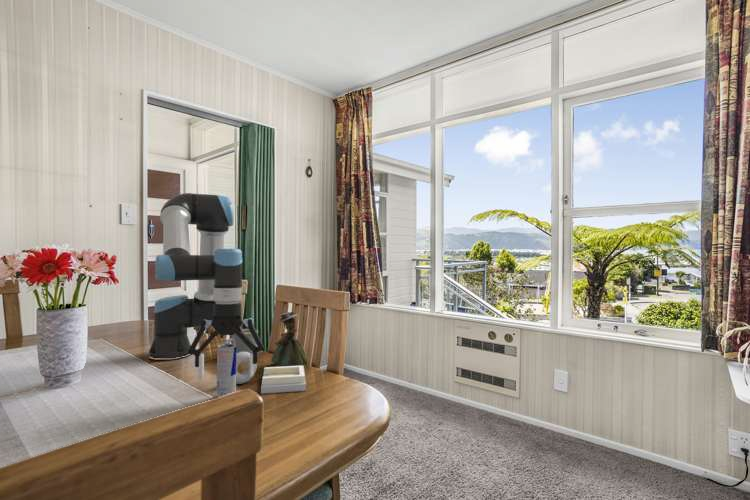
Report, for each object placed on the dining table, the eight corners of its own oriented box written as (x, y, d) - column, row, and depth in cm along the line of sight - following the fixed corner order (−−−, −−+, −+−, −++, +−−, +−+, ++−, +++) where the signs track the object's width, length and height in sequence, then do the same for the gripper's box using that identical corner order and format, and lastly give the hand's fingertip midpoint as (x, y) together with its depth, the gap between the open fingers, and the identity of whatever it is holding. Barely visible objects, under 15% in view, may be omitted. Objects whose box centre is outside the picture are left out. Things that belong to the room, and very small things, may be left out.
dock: (264, 376, 129) (264, 364, 129) (303, 374, 132) (303, 362, 132) (260, 393, 114) (261, 380, 114) (305, 390, 117) (305, 377, 117)
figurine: (286, 358, 150) (287, 307, 150) (317, 363, 144) (318, 310, 145) (261, 368, 137) (262, 312, 137) (293, 374, 131) (294, 316, 131)
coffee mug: (252, 352, 159) (252, 327, 159) (261, 357, 151) (261, 332, 152) (218, 357, 151) (219, 331, 151) (226, 363, 143) (227, 336, 143)
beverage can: (239, 395, 112) (240, 343, 112) (227, 401, 107) (228, 347, 107) (225, 392, 114) (225, 342, 114) (212, 399, 109) (213, 346, 109)
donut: (253, 378, 127) (254, 348, 127) (258, 381, 124) (259, 350, 124) (223, 385, 120) (224, 353, 120) (228, 388, 117) (228, 355, 117)
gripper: (176, 304, 104) (175, 383, 104) (272, 303, 110) (271, 377, 109) (184, 301, 112) (182, 375, 111) (273, 300, 117) (272, 370, 117)
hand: (226, 376), depth 110 cm, fingers open, 13 cm apart
